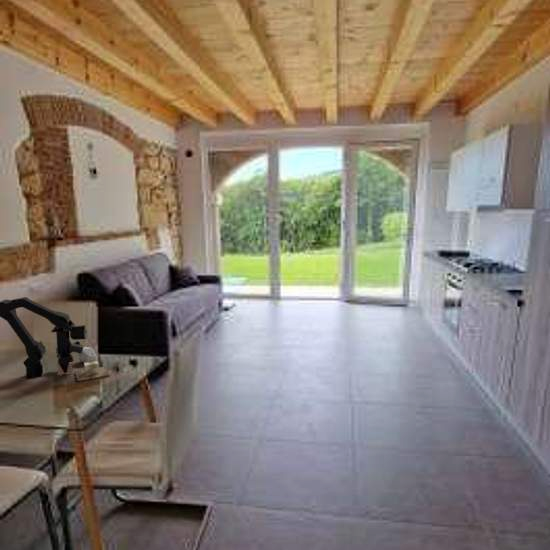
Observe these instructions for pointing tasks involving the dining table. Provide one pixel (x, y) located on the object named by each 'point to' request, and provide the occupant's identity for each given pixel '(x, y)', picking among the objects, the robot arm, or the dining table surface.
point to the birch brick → (91, 368)
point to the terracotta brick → (67, 369)
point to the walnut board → (102, 373)
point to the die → (86, 355)
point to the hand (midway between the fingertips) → (65, 371)
